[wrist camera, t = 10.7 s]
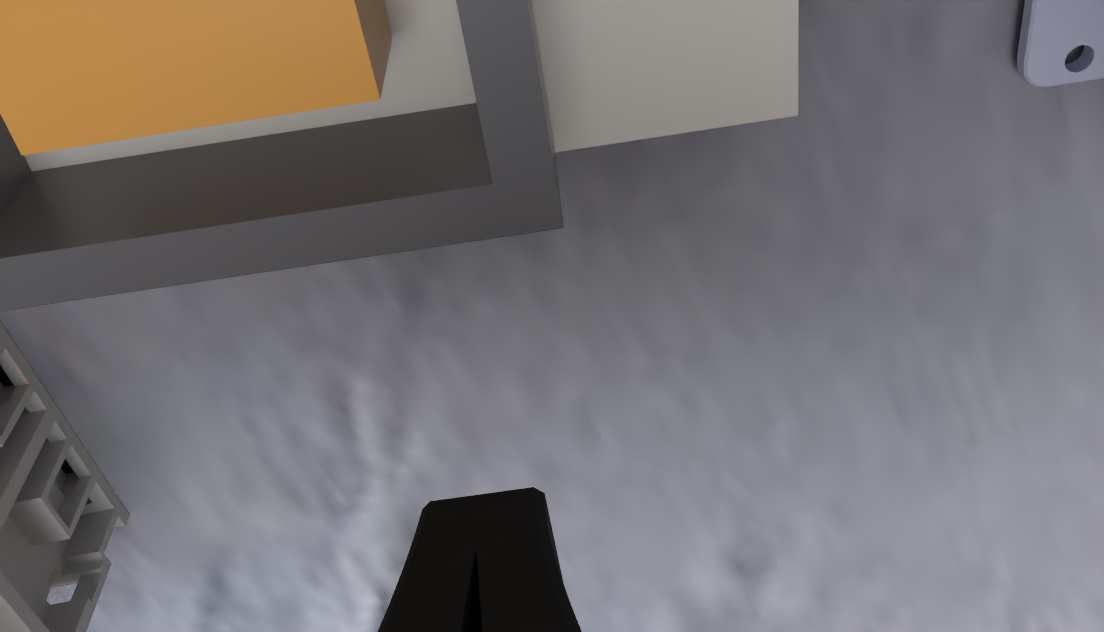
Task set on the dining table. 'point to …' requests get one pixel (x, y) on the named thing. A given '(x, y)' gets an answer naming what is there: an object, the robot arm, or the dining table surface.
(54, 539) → the circuit breaker
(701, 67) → the slider control box
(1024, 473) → the dining table surface
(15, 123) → the button
